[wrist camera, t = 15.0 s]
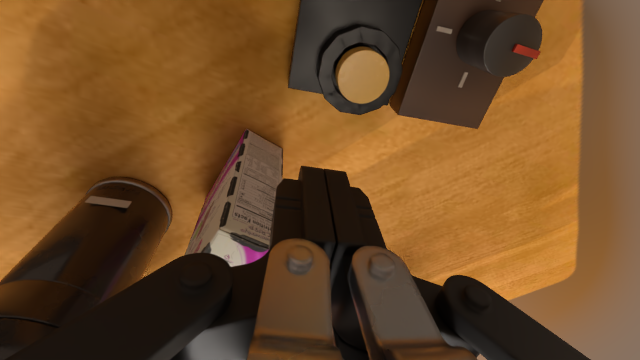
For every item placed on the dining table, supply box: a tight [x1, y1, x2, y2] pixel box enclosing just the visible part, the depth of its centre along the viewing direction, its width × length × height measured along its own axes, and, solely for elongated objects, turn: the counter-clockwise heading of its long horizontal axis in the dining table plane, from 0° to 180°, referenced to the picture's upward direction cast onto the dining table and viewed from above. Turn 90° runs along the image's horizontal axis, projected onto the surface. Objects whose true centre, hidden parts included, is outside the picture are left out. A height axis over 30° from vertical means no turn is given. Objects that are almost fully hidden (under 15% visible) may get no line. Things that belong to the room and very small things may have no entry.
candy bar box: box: [185, 129, 283, 267], centre depth 28 cm, size 11×5×16 cm, turn 146°
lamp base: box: [288, 0, 422, 115], centre depth 25 cm, size 17×10×4 cm, turn 168°
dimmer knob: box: [456, 10, 542, 77], centre depth 24 cm, size 4×4×5 cm
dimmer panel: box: [390, 0, 543, 129], centre depth 28 cm, size 12×9×3 cm
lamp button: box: [335, 46, 389, 104], centre depth 26 cm, size 4×4×2 cm
